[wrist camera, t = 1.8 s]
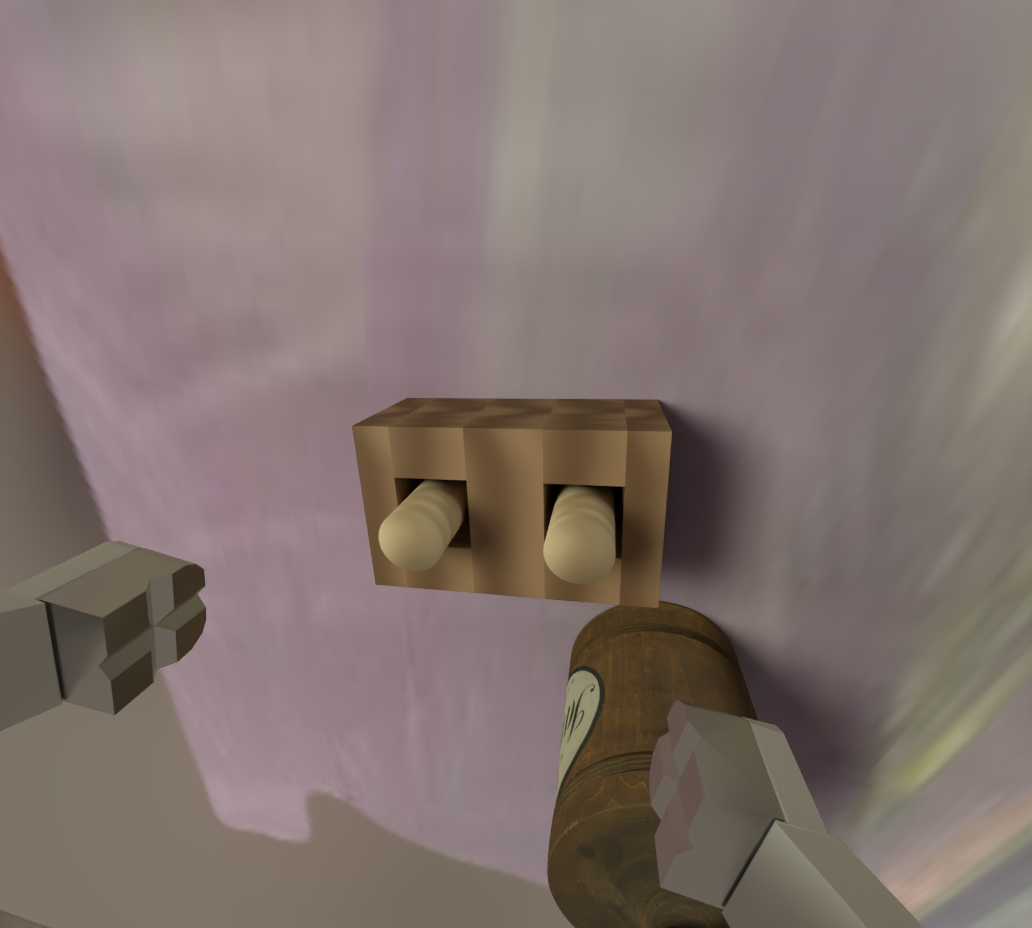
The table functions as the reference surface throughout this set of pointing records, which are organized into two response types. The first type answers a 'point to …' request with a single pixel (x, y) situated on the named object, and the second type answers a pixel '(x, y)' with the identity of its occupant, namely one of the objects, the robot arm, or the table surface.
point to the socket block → (521, 488)
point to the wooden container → (630, 761)
